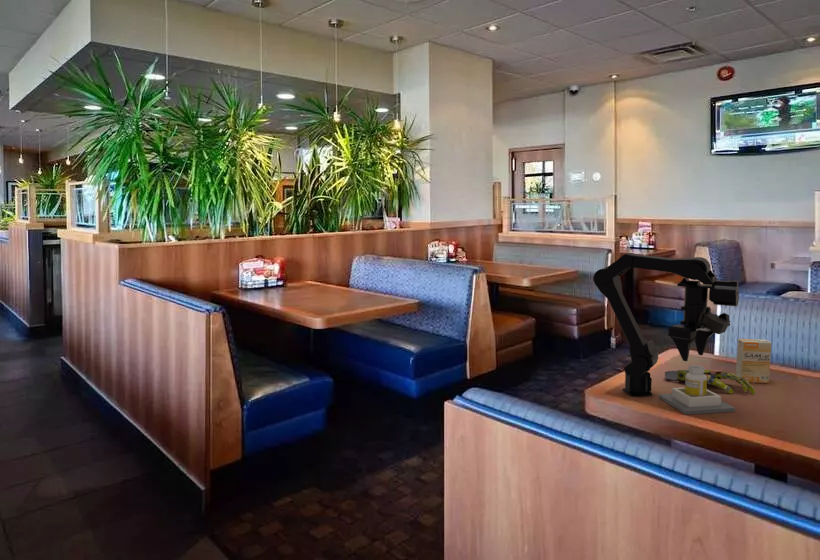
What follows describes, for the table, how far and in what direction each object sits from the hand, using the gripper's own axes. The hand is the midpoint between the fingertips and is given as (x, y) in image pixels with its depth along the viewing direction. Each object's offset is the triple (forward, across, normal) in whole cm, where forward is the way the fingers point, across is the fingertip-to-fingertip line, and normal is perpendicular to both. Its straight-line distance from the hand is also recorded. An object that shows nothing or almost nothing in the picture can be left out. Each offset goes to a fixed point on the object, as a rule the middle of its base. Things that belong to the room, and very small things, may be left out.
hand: (693, 357), depth 167 cm
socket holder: (+13, -1, -2) cm, 13 cm away
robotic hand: (+13, +18, +3) cm, 23 cm away
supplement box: (+13, +32, -4) cm, 35 cm away
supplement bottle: (+12, -1, -2) cm, 12 cm away
